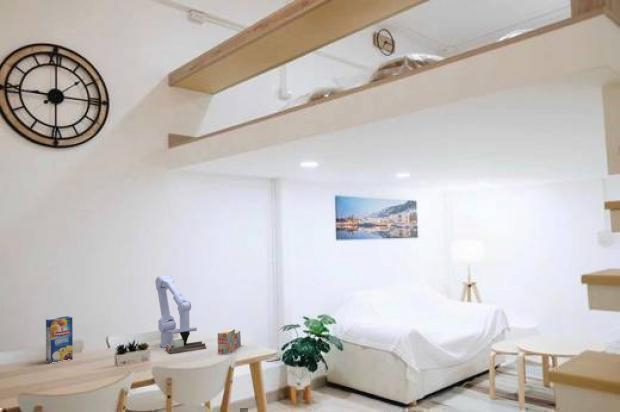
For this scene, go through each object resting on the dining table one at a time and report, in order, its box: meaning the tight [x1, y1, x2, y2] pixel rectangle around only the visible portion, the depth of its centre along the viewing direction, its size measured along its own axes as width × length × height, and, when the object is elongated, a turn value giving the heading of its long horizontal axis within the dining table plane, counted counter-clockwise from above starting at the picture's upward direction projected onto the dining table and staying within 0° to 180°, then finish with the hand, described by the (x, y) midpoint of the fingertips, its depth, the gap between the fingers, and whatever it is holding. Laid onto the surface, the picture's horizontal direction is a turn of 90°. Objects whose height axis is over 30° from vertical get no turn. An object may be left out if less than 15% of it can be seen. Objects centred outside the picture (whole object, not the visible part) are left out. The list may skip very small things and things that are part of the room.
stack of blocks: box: [217, 328, 242, 355], centre depth 294 cm, size 21×6×12 cm, turn 167°
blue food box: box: [45, 315, 74, 364], centre depth 280 cm, size 12×8×24 cm, turn 138°
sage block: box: [173, 338, 184, 348], centre depth 295 cm, size 5×5×5 cm
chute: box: [164, 340, 207, 355], centre depth 297 cm, size 12×22×4 cm, turn 120°
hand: (184, 344), depth 297 cm, fingers closed
